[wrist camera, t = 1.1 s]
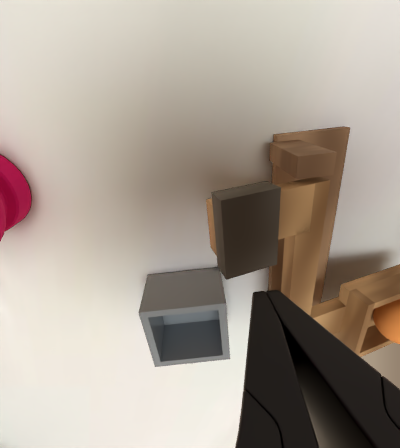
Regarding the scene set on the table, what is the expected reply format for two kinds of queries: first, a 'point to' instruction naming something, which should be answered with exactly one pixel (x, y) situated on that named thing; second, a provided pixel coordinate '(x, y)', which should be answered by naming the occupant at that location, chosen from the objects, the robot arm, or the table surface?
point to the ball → (388, 320)
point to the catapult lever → (296, 254)
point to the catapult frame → (306, 168)
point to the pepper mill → (12, 196)
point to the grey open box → (185, 317)
